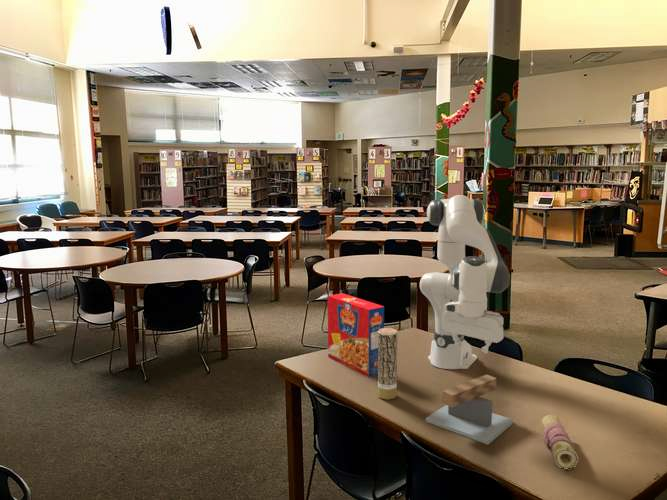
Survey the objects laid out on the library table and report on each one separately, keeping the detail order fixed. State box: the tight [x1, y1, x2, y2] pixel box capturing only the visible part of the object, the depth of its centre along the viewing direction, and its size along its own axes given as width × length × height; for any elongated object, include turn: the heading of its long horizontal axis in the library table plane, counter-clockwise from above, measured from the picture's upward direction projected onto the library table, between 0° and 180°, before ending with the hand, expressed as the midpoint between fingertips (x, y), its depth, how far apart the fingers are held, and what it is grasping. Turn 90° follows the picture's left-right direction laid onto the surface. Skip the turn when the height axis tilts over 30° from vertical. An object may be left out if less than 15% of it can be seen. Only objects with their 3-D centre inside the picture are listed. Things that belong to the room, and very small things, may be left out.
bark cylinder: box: [377, 327, 398, 401], centre depth 189 cm, size 7×7×25 cm
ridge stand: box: [425, 396, 514, 446], centre depth 171 cm, size 22×18×9 cm
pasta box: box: [327, 292, 385, 378], centre depth 220 cm, size 28×8×28 cm, turn 36°
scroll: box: [539, 414, 579, 470], centre depth 153 cm, size 8×8×20 cm
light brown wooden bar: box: [441, 374, 497, 407], centre depth 170 cm, size 22×4×4 cm, turn 126°
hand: (471, 349), depth 169 cm, fingers open, 8 cm apart
